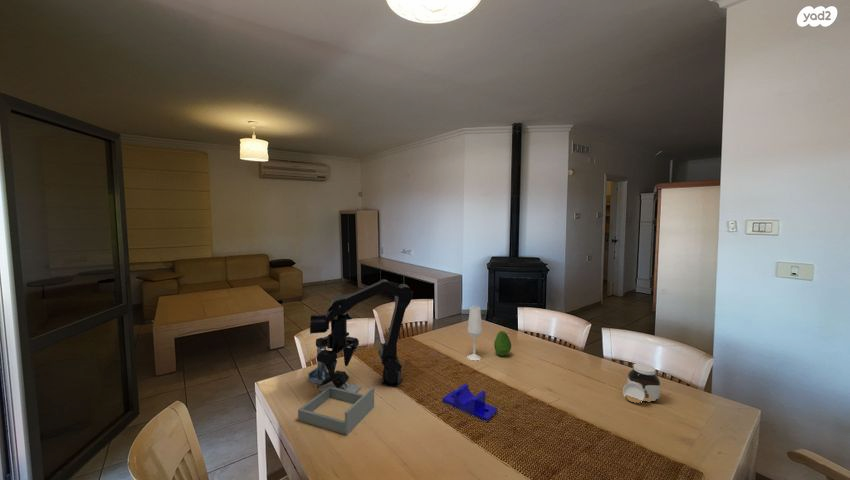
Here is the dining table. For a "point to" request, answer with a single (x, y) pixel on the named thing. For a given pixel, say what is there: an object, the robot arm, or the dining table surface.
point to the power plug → (337, 379)
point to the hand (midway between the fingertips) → (339, 371)
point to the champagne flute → (474, 329)
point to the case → (352, 415)
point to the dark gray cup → (321, 366)
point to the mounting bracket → (470, 402)
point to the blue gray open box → (315, 376)
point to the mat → (350, 387)
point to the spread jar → (642, 382)
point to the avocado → (502, 344)
